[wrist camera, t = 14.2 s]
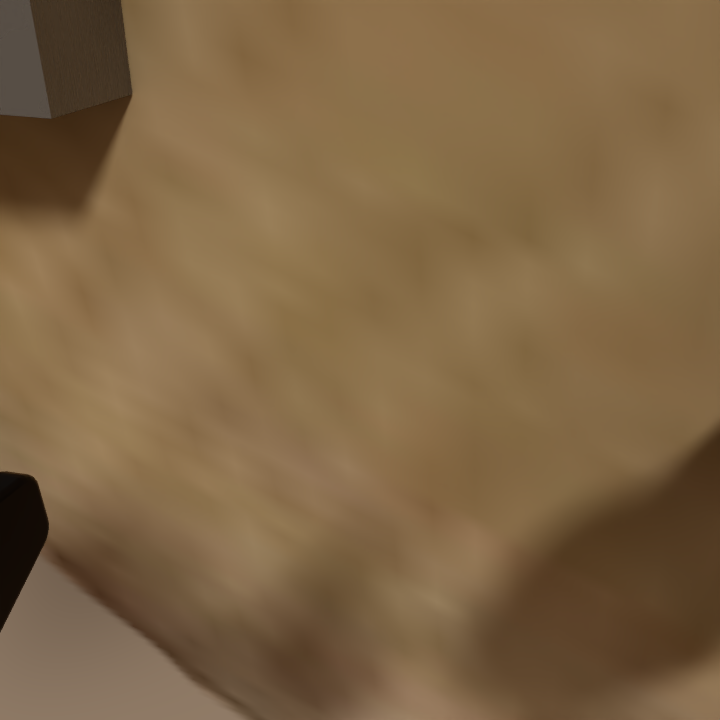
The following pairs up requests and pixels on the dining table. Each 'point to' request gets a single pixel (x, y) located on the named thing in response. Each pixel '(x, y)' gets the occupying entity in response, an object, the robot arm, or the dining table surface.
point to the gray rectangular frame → (61, 56)
